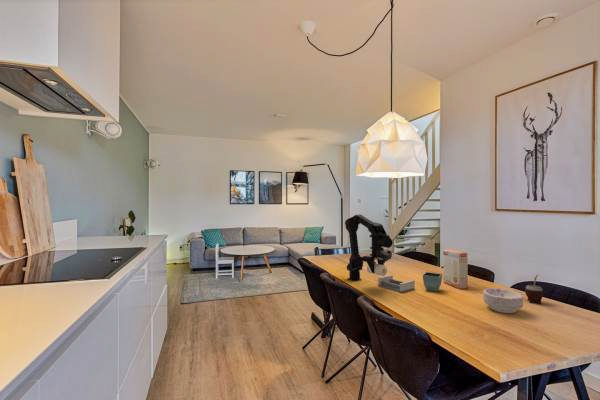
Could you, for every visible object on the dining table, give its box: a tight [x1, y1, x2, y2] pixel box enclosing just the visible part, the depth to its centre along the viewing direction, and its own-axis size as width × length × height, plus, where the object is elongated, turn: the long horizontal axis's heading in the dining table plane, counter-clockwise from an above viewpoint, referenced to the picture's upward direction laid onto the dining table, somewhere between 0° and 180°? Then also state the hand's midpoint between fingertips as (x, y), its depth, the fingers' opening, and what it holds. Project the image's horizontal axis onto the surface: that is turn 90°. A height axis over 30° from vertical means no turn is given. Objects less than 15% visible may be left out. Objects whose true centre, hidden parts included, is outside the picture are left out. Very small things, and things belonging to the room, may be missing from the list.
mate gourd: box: [524, 274, 544, 305], centre depth 147 cm, size 8×8×15 cm
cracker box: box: [442, 248, 469, 290], centre depth 177 cm, size 14×6×21 cm, turn 10°
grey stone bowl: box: [482, 287, 524, 314], centre depth 137 cm, size 15×15×8 cm
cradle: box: [377, 274, 416, 294], centre depth 173 cm, size 16×12×5 cm
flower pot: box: [422, 271, 443, 292], centre depth 168 cm, size 9×9×9 cm
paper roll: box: [366, 263, 388, 277], centre depth 171 cm, size 10×6×6 cm, turn 35°
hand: (376, 272), depth 171 cm, fingers closed on paper roll, 6 cm apart
